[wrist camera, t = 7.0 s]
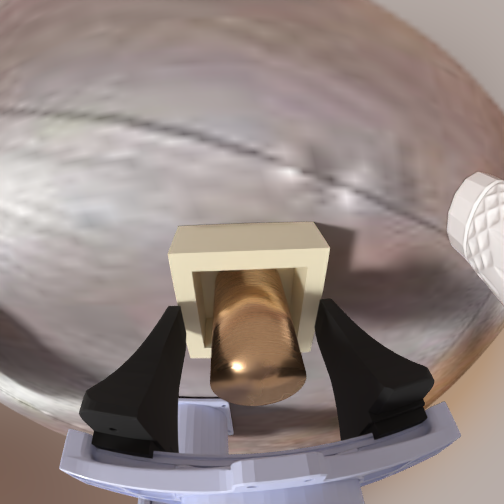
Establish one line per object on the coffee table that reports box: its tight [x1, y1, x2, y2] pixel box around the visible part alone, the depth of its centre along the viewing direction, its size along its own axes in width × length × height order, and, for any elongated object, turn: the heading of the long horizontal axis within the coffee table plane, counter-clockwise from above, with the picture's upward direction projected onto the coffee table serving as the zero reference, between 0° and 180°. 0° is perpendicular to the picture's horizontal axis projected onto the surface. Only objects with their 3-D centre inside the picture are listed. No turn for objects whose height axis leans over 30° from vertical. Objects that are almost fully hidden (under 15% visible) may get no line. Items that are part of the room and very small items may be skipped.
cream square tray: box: [168, 222, 330, 358], centre depth 15 cm, size 8×8×3 cm
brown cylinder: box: [210, 268, 306, 406], centre depth 13 cm, size 4×4×7 cm
